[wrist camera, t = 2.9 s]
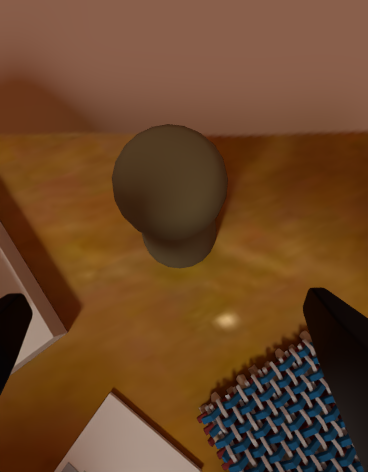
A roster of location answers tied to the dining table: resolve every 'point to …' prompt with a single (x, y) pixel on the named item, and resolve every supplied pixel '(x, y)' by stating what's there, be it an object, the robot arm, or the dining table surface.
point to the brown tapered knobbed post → (171, 192)
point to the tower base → (22, 281)
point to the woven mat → (281, 419)
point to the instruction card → (123, 445)
